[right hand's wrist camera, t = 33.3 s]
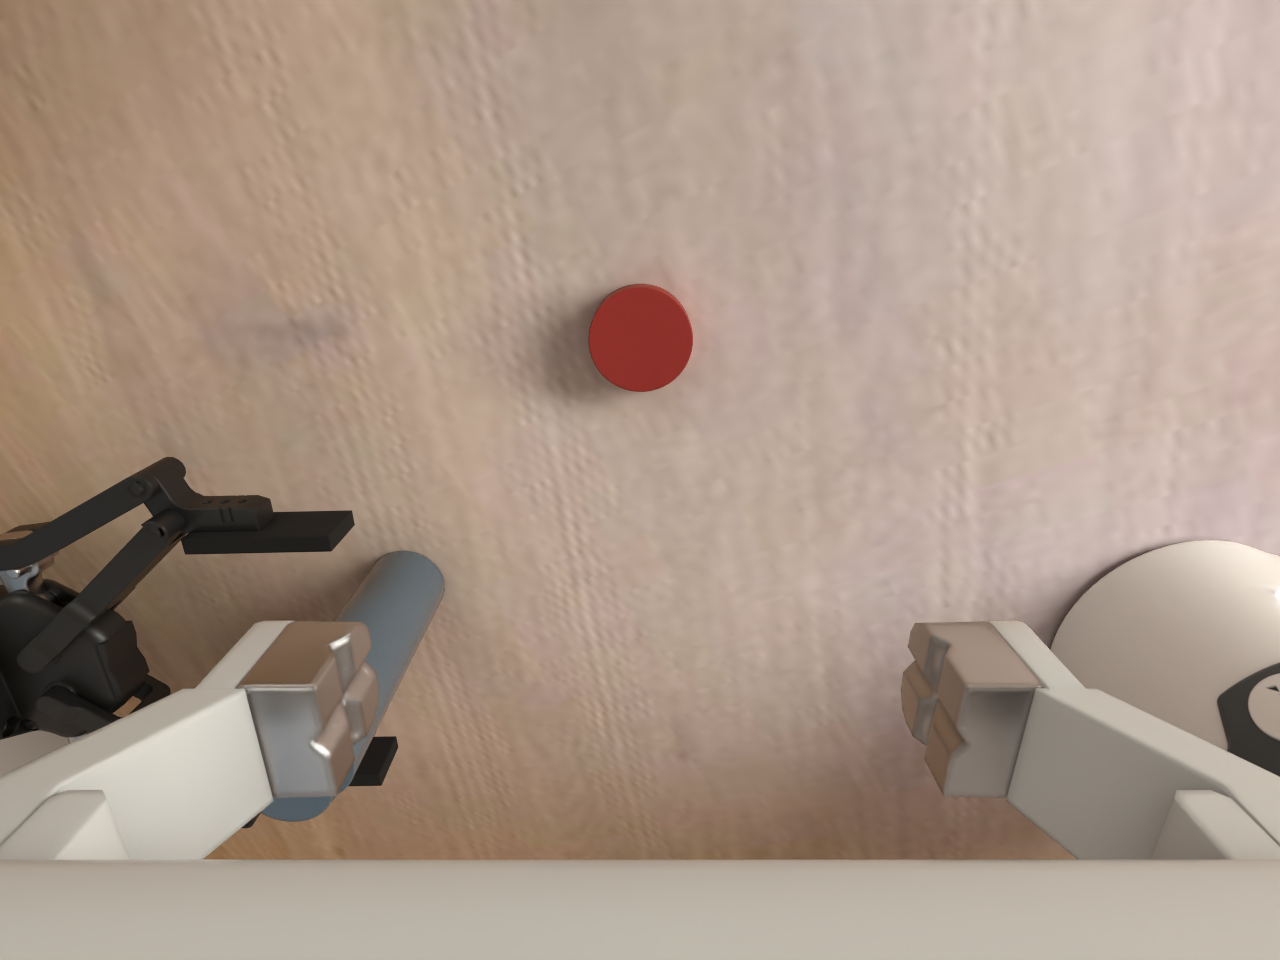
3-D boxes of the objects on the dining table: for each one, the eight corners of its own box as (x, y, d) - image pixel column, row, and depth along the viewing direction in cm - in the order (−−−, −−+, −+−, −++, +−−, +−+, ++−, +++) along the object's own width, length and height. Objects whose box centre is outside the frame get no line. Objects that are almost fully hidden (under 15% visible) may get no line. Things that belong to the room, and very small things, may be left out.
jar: (382, 539, 39) (240, 727, 25) (454, 567, 40) (355, 765, 26) (361, 599, 40) (215, 808, 27) (431, 624, 41) (325, 842, 27)
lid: (616, 265, 33) (615, 268, 32) (708, 311, 34) (711, 316, 33) (574, 358, 35) (572, 365, 34) (663, 399, 36) (664, 408, 35)
